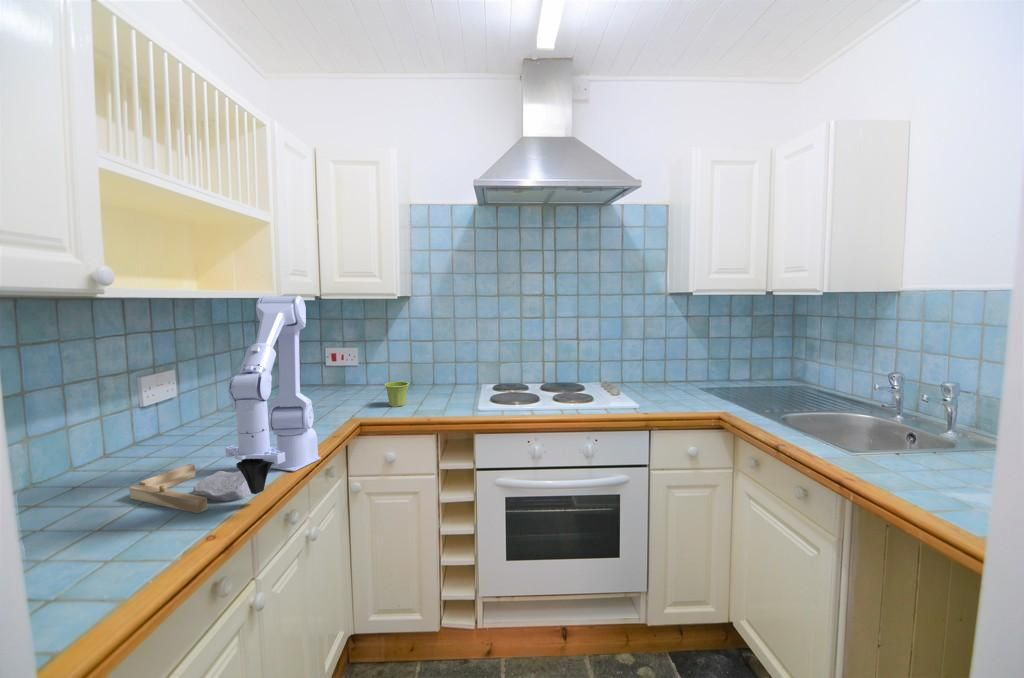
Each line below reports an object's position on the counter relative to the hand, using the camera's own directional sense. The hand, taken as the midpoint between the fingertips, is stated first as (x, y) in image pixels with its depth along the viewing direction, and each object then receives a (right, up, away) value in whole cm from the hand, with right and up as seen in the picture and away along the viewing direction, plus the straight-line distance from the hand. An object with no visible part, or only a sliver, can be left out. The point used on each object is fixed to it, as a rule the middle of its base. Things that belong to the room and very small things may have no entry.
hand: (257, 491), depth 96 cm
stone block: (-10, -3, +6) cm, 12 cm away
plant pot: (+8, +6, +84) cm, 84 cm away
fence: (-18, -2, +6) cm, 19 cm away
